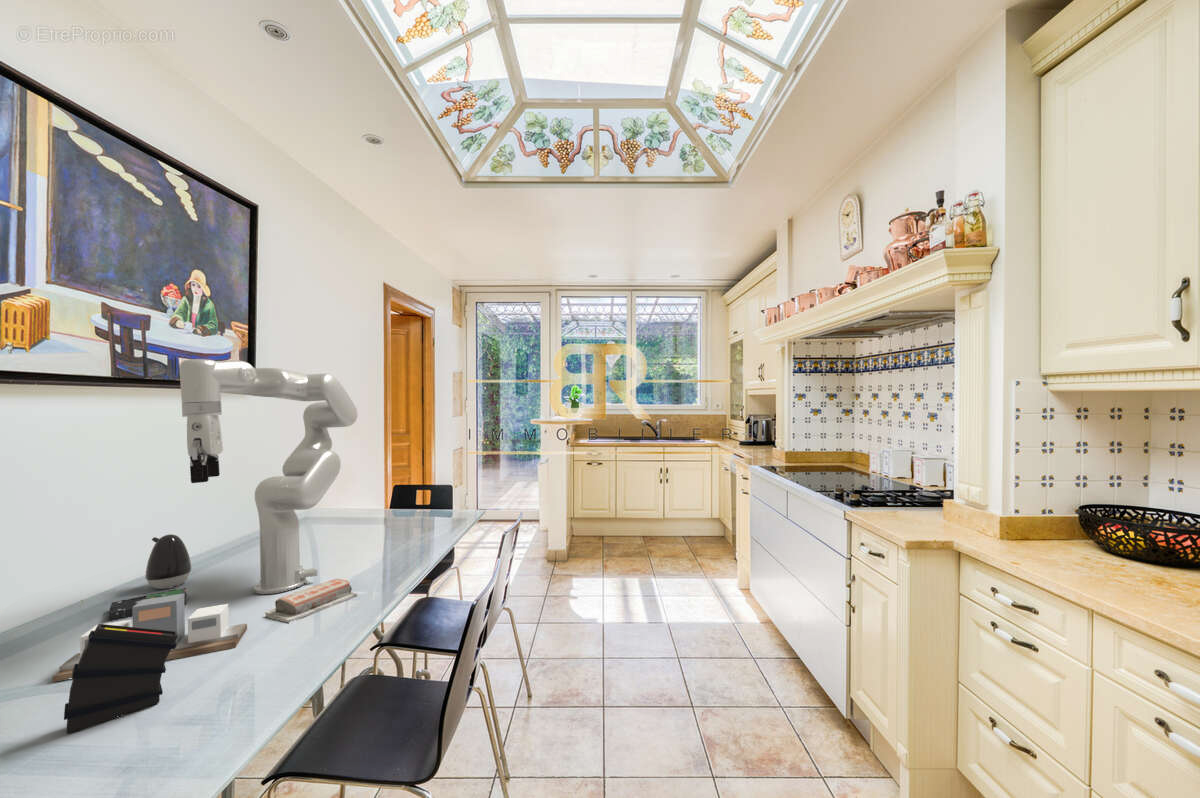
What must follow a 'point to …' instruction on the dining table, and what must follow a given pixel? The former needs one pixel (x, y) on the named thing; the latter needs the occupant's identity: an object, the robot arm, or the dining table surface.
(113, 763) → the dining table surface
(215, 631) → the block
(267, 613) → the packaged product
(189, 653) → the rail board
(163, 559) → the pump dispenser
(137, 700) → the black ridged block
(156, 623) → the block
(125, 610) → the disk drive
